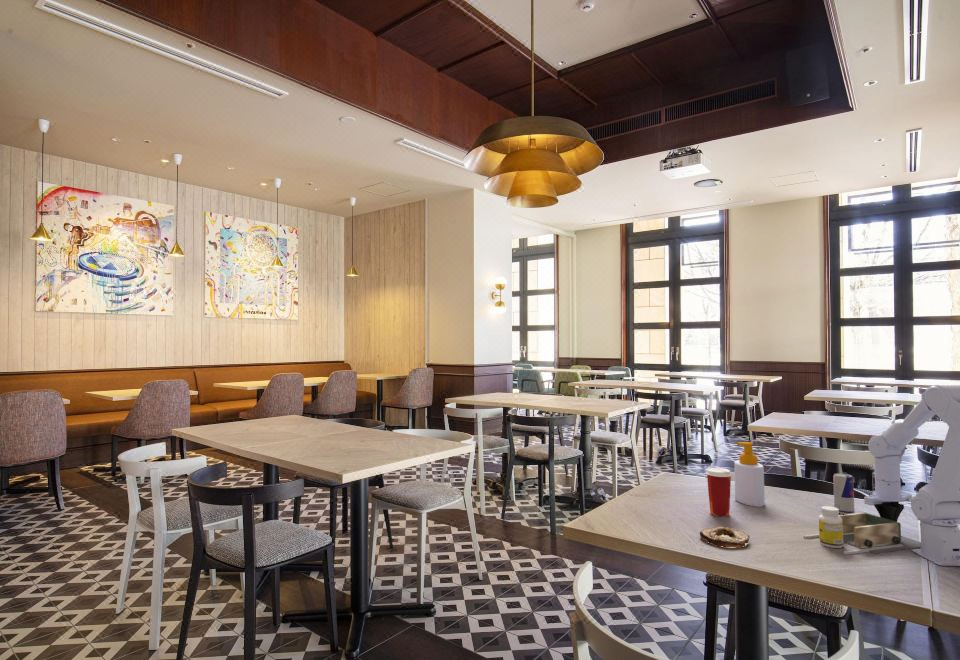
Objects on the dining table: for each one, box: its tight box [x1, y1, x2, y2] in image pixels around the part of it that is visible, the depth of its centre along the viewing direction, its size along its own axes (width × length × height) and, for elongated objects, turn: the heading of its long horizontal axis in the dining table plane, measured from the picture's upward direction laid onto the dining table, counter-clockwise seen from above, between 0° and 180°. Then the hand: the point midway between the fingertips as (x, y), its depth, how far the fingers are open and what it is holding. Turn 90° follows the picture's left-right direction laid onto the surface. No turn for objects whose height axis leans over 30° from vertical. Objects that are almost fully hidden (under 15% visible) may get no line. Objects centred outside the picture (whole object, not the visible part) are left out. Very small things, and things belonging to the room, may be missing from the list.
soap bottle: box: [733, 441, 766, 508], centre depth 187 cm, size 13×8×20 cm, turn 178°
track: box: [803, 533, 921, 556], centre depth 148 cm, size 26×16×1 cm, turn 105°
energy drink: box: [832, 472, 855, 515], centre depth 174 cm, size 5×5×12 cm
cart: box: [838, 512, 902, 548], centre depth 148 cm, size 15×12×5 cm
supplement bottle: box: [818, 505, 844, 549], centre depth 146 cm, size 5×5×10 cm
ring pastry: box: [699, 526, 751, 548], centre depth 149 cm, size 15×15×4 cm
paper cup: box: [705, 467, 732, 517], centre depth 174 cm, size 8×8×14 cm
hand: (889, 529), depth 150 cm, fingers closed
